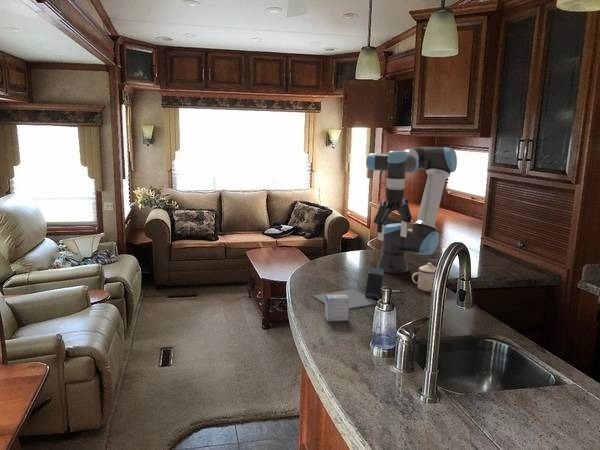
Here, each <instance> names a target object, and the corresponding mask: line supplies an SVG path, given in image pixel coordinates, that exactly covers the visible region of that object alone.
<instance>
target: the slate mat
mask: <svg viewBox="0 0 600 450" xmlns="http://www.w3.org/2000/svg"><path fill="white" fill-rule="evenodd" d="M326 295H347V297H348V298H349V310H353V309H360V308H364V307H370V306H376V302H378V301H377V300H376V299H374V298H369V297H365V294H363V293H362V292H360V291H358V290H356V289H354V288H350V289H345V290H339V291H334V292H332V291H331V292H327V293H321V294H315V295H314V294H313V295H312V297H313V298H314V299H316V300H317V301H319V302H320V303H322V304H324V305H325V298H326Z"/></svg>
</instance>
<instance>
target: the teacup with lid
mask: <svg viewBox="0 0 600 450" xmlns="http://www.w3.org/2000/svg"><path fill="white" fill-rule="evenodd" d="M436 268H437V267H436V266H434V265H433V263H431V262H427V264H424V265H422V266H420V267H419V268H418V272H414V273H413V274H412V276H411V280H412V281H413V283H414V284H417V288H418V290H420V291H423V292H431V289H432V283H433V279H434V275H435V270H436ZM416 275H418V280H417V281H416V280H415V276H416Z"/></svg>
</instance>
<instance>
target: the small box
mask: <svg viewBox="0 0 600 450" xmlns="http://www.w3.org/2000/svg"><path fill="white" fill-rule="evenodd" d="M384 273H385V272H384V269H378V268H377V267H371V266H369V268H368V272H367V279H366V286H365V287H366V288H365V294H364V295H365V297H369V298H371V299H375V300H376V299H377V300H380V298H381V296H382V295H381V294H382V291H381V288H382V289H383V284H384V275H385V274H384Z"/></svg>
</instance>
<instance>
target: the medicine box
mask: <svg viewBox="0 0 600 450" xmlns="http://www.w3.org/2000/svg"><path fill="white" fill-rule="evenodd" d="M324 306H325V307H324V319H325V320H326V322H344V321H346V322H347V321H349V313H350V312H349V310H350V309H349V298H348V297H347V295H326V298H325V304H324Z"/></svg>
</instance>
